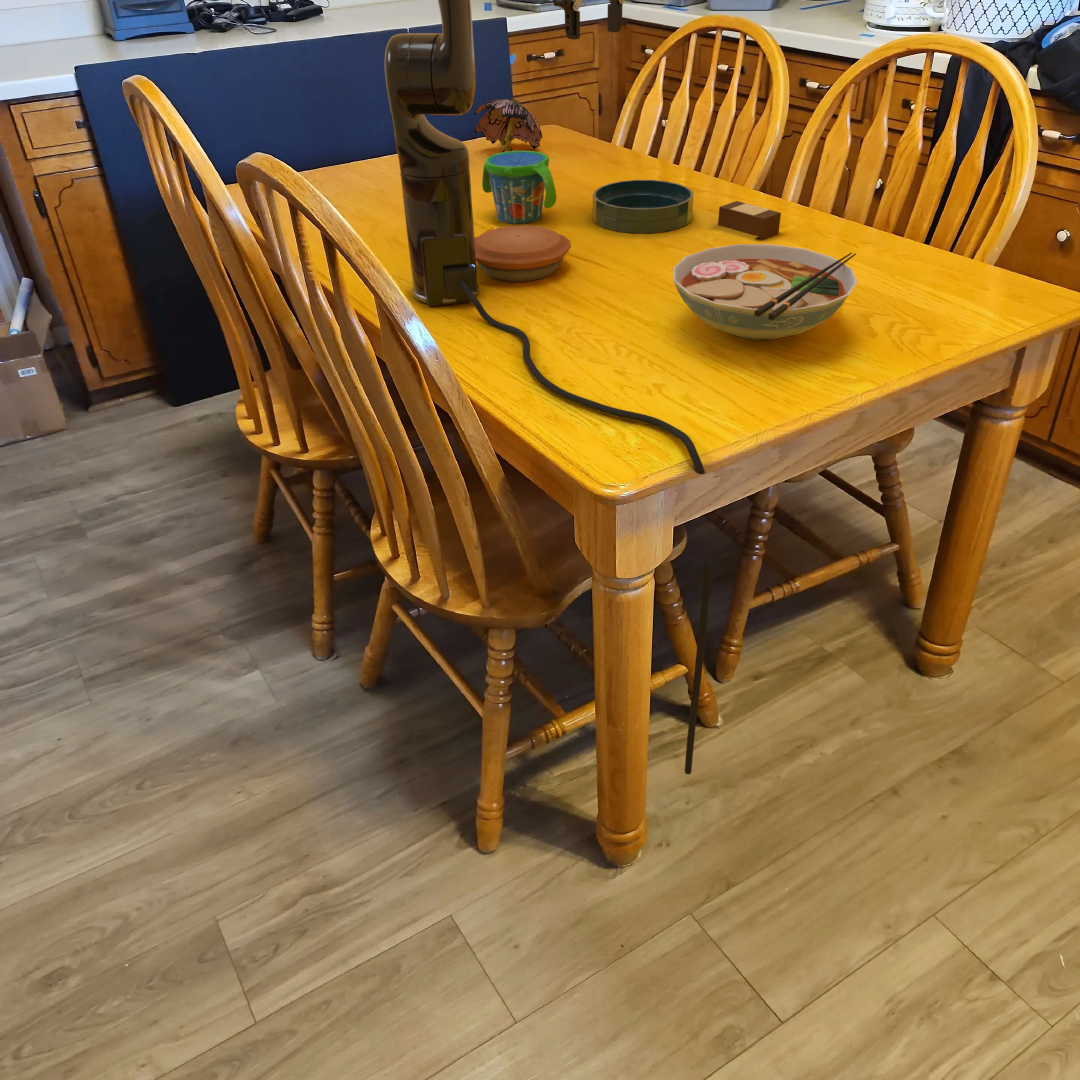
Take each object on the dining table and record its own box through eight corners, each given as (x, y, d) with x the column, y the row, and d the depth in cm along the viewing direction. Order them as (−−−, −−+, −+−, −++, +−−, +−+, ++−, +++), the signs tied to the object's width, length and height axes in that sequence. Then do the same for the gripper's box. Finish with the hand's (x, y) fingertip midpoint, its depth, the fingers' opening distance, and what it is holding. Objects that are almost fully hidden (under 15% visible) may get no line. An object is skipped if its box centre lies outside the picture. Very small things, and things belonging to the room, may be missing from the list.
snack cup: (467, 216, 165) (463, 155, 159) (515, 203, 170) (512, 143, 164) (523, 238, 155) (521, 173, 149) (572, 223, 160) (572, 160, 154)
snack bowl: (705, 231, 155) (707, 204, 152) (606, 240, 152) (606, 213, 150) (674, 201, 168) (675, 176, 165) (583, 210, 166) (583, 184, 163)
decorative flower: (560, 99, 194) (501, 86, 185) (559, 159, 196) (500, 149, 187) (517, 110, 205) (459, 98, 196) (516, 167, 207) (459, 158, 198)
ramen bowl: (729, 281, 137) (734, 224, 132) (881, 318, 125) (893, 257, 120) (629, 340, 121) (630, 278, 117) (792, 389, 109) (801, 322, 105)
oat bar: (778, 233, 153) (781, 212, 151) (761, 240, 150) (763, 218, 148) (734, 221, 158) (736, 200, 156) (717, 227, 156) (719, 206, 154)
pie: (552, 246, 151) (551, 214, 148) (585, 279, 139) (585, 245, 136) (458, 258, 148) (455, 226, 145) (484, 293, 136) (481, 259, 133)
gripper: (575, -90, 129) (576, 44, 138) (648, -96, 136) (644, 31, 145) (539, -90, 133) (542, 39, 143) (611, -96, 141) (610, 27, 150)
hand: (594, 35), depth 144 cm, fingers open, 8 cm apart
